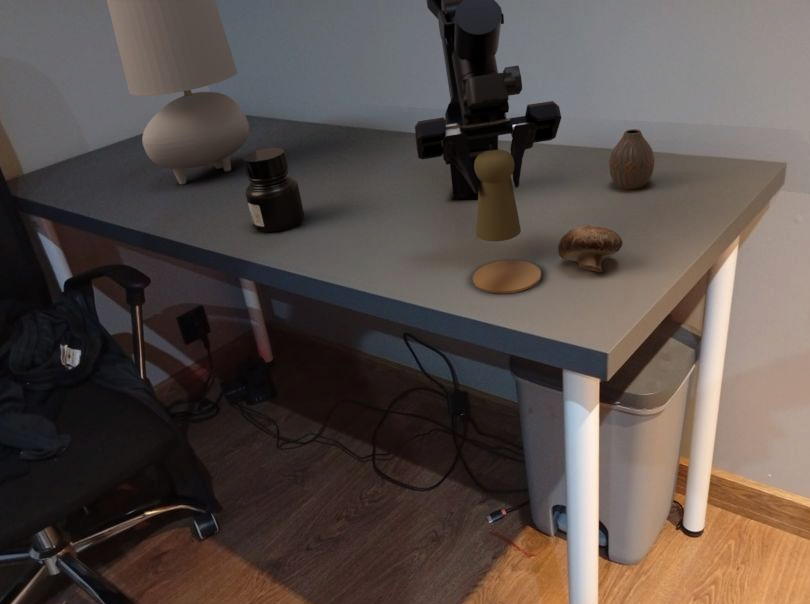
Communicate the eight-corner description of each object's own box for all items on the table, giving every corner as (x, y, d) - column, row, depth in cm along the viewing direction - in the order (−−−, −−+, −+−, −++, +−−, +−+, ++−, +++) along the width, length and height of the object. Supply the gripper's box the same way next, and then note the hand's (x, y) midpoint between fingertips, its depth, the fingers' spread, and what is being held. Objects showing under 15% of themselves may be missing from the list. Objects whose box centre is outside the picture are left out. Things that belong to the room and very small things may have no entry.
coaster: (468, 294, 95) (468, 291, 95) (477, 263, 102) (477, 260, 102) (538, 293, 92) (538, 290, 92) (543, 262, 100) (543, 259, 100)
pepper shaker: (526, 236, 97) (523, 155, 91) (482, 244, 97) (475, 163, 91) (513, 220, 102) (509, 142, 96) (471, 227, 102) (464, 150, 96)
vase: (655, 191, 115) (657, 136, 111) (609, 194, 117) (610, 139, 113) (651, 176, 121) (654, 123, 116) (608, 179, 123) (609, 126, 118)
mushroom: (606, 264, 89) (599, 214, 90) (550, 278, 95) (543, 231, 95) (635, 269, 95) (628, 223, 96) (581, 282, 101) (574, 238, 101)
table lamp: (181, 200, 144) (112, -26, 123) (137, 182, 158) (68, -23, 138) (278, 165, 155) (231, -48, 134) (229, 151, 170) (178, -42, 149)
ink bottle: (260, 215, 130) (243, 148, 124) (308, 209, 130) (294, 142, 123) (248, 237, 122) (230, 167, 116) (300, 231, 121) (284, 160, 115)
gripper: (406, 56, 91) (423, 171, 87) (556, 34, 90) (580, 148, 87) (410, 106, 102) (426, 209, 98) (544, 85, 101) (564, 189, 98)
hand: (496, 189), depth 95 cm, fingers closed on pepper shaker, 5 cm apart
